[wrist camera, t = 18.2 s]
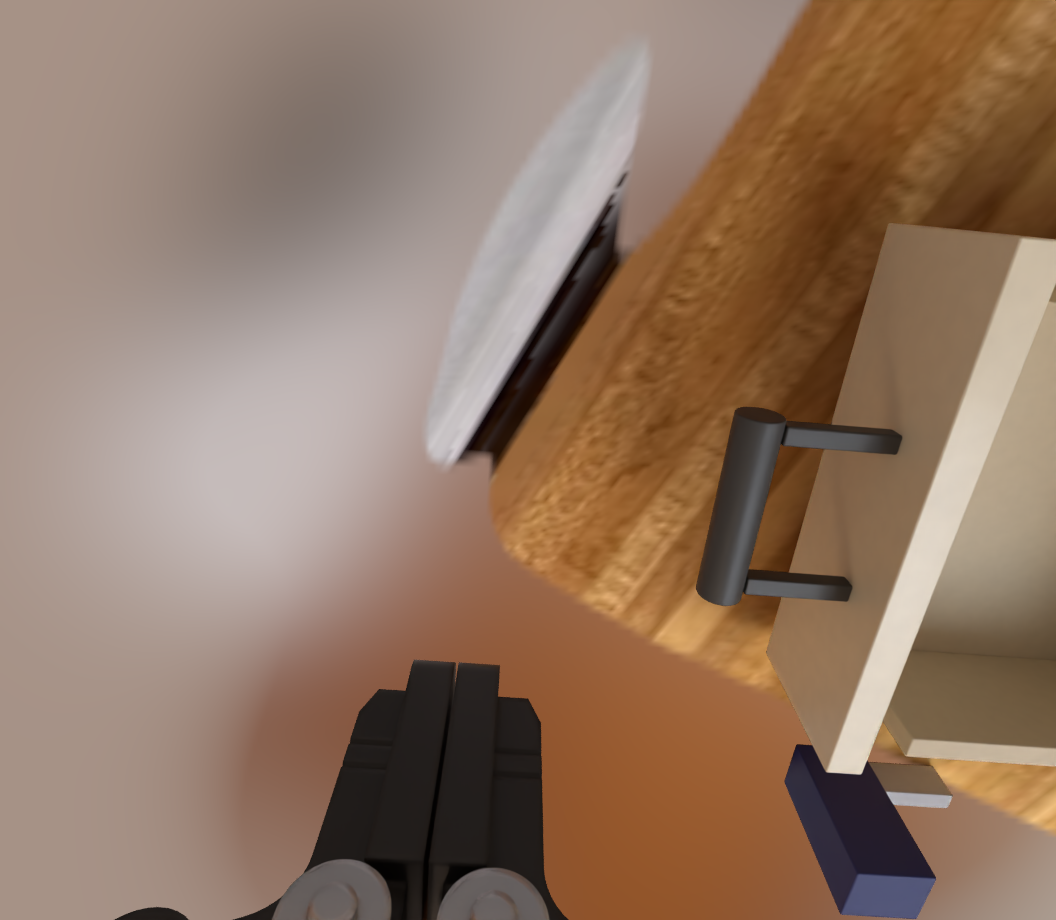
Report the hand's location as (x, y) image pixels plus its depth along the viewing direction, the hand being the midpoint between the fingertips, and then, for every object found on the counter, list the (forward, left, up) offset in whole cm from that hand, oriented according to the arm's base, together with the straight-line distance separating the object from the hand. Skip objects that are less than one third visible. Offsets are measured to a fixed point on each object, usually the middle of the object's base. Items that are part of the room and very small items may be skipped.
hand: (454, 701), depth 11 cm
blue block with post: (+15, +18, -13) cm, 27 cm away
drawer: (0, +16, -12) cm, 20 cm away
